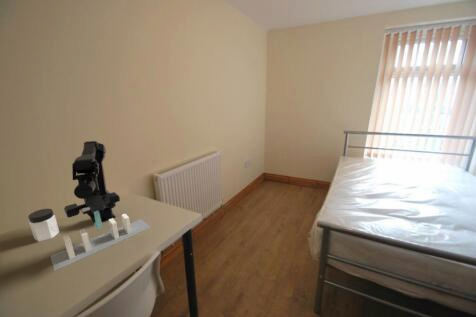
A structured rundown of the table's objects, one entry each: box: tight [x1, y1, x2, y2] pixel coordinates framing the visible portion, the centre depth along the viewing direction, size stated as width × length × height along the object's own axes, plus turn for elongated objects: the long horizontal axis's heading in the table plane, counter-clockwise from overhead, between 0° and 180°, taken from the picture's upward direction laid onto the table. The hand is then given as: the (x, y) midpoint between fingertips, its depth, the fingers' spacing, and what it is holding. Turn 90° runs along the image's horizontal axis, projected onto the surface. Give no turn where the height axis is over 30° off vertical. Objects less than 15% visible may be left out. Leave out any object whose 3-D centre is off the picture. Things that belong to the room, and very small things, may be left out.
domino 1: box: [62, 234, 75, 259], centre depth 84 cm, size 2×5×8 cm, turn 47°
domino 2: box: [79, 228, 91, 252], centre depth 88 cm, size 2×5×8 cm, turn 47°
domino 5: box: [121, 213, 132, 234], centre depth 100 cm, size 2×5×8 cm, turn 47°
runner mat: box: [49, 218, 152, 271], centre depth 94 cm, size 11×37×1 cm, turn 137°
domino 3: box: [92, 210, 103, 230], centre depth 90 cm, size 2×5×8 cm, turn 47°
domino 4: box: [108, 218, 119, 239], centre depth 96 cm, size 2×5×8 cm, turn 47°
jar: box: [27, 208, 60, 243], centre depth 96 cm, size 9×8×12 cm
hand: (97, 221), depth 90 cm, fingers closed on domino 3, 2 cm apart
